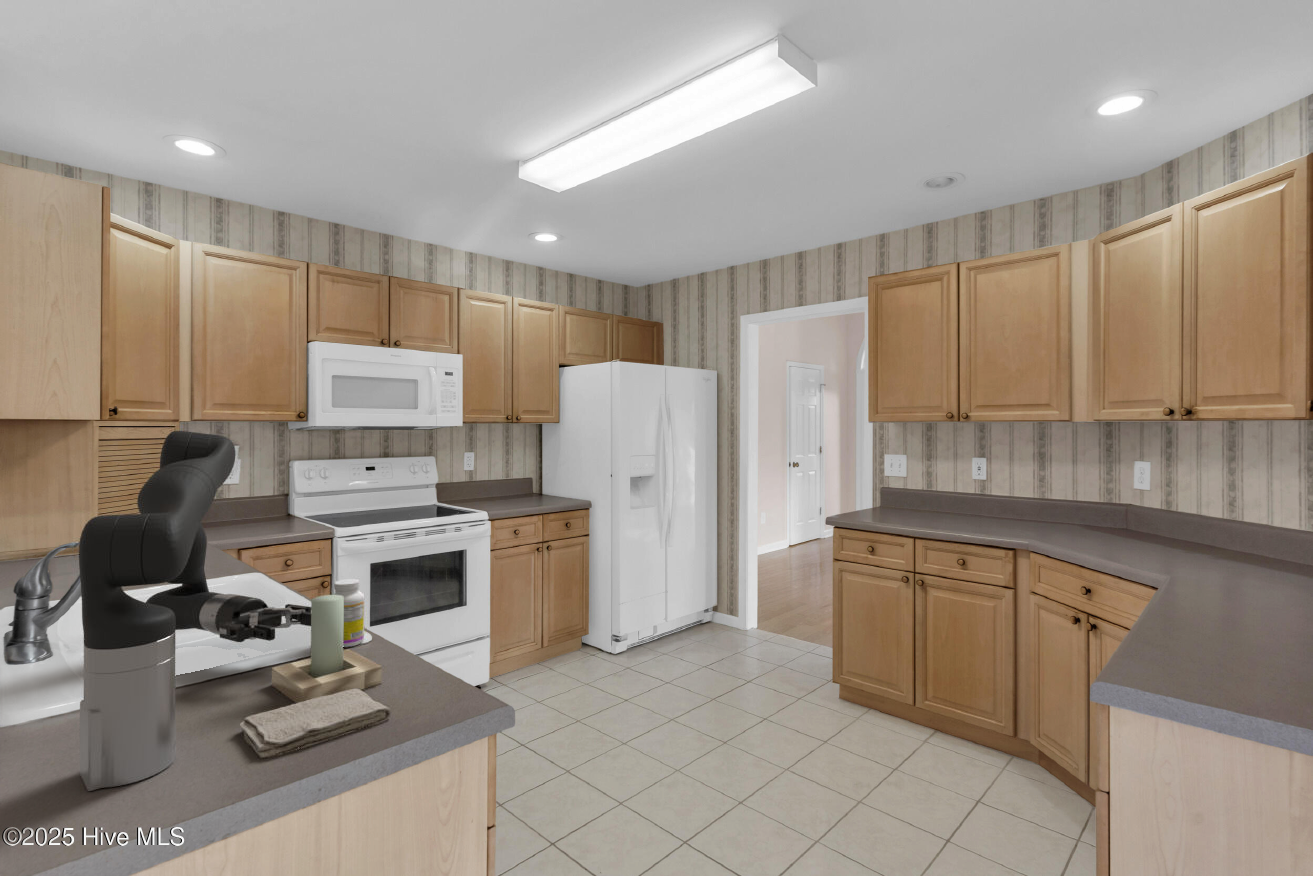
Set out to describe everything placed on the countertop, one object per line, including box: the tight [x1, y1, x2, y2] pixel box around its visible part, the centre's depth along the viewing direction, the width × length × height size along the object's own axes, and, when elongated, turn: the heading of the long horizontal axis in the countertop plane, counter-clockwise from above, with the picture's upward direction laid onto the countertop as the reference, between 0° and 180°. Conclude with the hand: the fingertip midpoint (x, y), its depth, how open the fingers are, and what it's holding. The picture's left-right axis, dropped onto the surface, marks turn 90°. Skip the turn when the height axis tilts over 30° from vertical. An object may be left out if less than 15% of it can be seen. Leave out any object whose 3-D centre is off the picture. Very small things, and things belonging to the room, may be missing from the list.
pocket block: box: [271, 648, 383, 704], centre depth 111 cm, size 13×13×3 cm
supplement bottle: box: [332, 578, 365, 648], centre depth 132 cm, size 7×7×13 cm
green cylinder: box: [310, 594, 344, 678], centre depth 111 cm, size 5×5×15 cm
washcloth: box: [238, 689, 392, 759], centre depth 96 cm, size 12×18×3 cm, turn 138°
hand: (295, 627), depth 114 cm, fingers open, 8 cm apart
